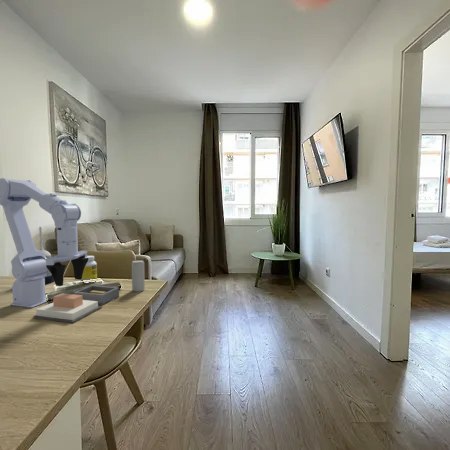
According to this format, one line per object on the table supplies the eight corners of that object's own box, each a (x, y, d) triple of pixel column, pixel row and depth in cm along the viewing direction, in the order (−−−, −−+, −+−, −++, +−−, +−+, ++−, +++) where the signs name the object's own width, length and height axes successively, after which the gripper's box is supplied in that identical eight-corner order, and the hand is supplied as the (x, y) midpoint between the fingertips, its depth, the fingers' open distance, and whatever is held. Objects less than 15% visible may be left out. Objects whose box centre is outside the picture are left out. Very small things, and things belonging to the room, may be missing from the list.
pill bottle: (90, 284, 117) (89, 258, 117) (77, 283, 119) (76, 257, 118) (100, 280, 124) (99, 255, 123) (88, 279, 125) (87, 254, 124)
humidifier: (37, 280, 123) (34, 226, 121) (57, 279, 125) (54, 226, 123) (28, 285, 115) (25, 227, 113) (50, 284, 117) (47, 227, 115)
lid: (36, 315, 83) (35, 299, 83) (64, 303, 93) (64, 289, 93) (72, 320, 80) (72, 303, 80) (98, 307, 90) (97, 292, 90)
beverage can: (133, 288, 112) (133, 260, 111) (145, 288, 112) (145, 260, 111) (130, 292, 107) (130, 262, 106) (143, 292, 107) (142, 262, 107)
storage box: (74, 301, 96) (73, 292, 96) (92, 293, 105) (91, 285, 105) (102, 305, 93) (102, 295, 93) (119, 296, 102) (118, 287, 102)
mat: (32, 317, 83) (32, 316, 83) (64, 304, 94) (64, 302, 94) (73, 323, 79) (73, 321, 79) (101, 308, 91) (101, 306, 91)
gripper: (58, 245, 79) (60, 290, 80) (94, 239, 93) (95, 277, 94) (39, 244, 81) (41, 288, 82) (77, 238, 95) (78, 276, 96)
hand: (69, 282), depth 88 cm, fingers open, 7 cm apart
